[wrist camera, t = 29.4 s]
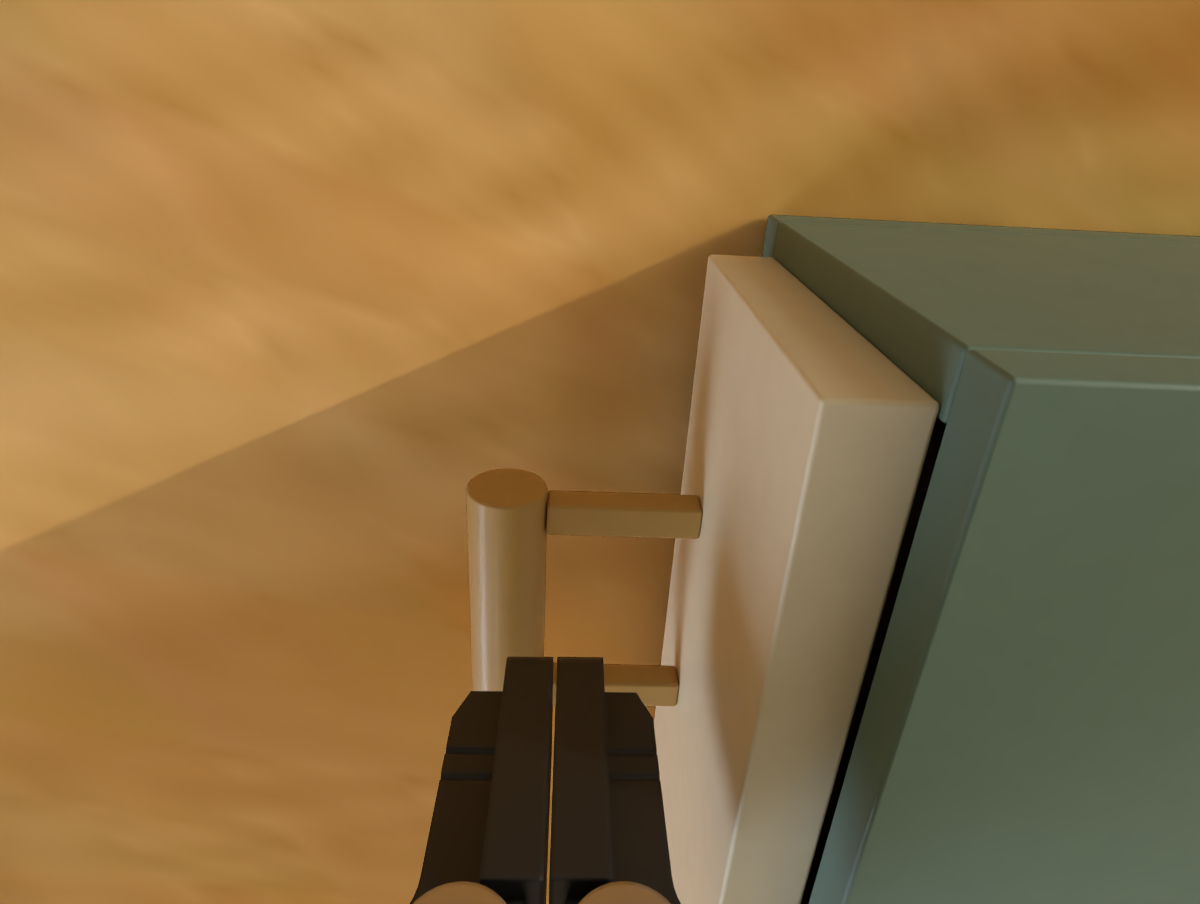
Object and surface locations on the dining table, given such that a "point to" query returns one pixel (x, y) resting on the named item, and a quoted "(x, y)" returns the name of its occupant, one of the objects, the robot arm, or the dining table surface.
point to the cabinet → (1029, 567)
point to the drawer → (743, 577)
